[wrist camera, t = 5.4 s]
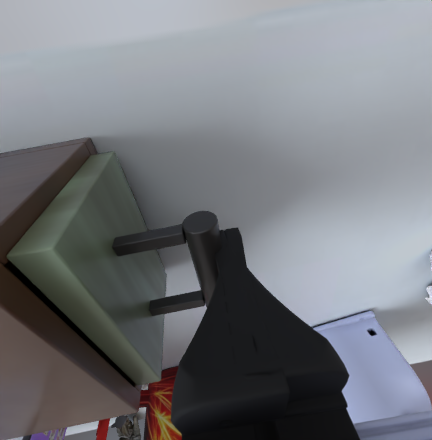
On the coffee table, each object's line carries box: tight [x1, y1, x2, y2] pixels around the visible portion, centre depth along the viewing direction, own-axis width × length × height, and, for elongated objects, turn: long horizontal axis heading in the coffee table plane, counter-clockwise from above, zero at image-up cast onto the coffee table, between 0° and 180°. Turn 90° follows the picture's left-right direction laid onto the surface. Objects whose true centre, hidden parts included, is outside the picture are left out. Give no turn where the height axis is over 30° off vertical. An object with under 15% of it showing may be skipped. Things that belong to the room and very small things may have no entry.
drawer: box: [4, 151, 222, 386], centre depth 11 cm, size 16×9×7 cm, turn 98°
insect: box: [111, 415, 141, 440], centre depth 37 cm, size 4×8×4 cm
